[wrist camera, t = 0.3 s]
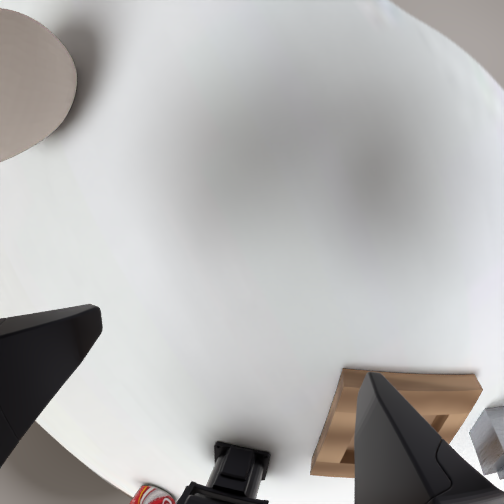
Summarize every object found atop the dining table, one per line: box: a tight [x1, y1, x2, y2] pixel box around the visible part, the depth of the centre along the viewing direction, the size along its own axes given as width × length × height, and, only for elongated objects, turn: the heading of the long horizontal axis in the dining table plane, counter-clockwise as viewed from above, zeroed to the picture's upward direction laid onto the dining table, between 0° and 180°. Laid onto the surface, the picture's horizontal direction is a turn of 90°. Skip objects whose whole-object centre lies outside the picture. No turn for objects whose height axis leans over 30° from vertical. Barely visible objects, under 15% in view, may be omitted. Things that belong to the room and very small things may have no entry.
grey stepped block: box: [469, 406, 504, 480], centre depth 19 cm, size 4×5×8 cm
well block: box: [310, 368, 483, 478], centre depth 24 cm, size 14×14×2 cm
